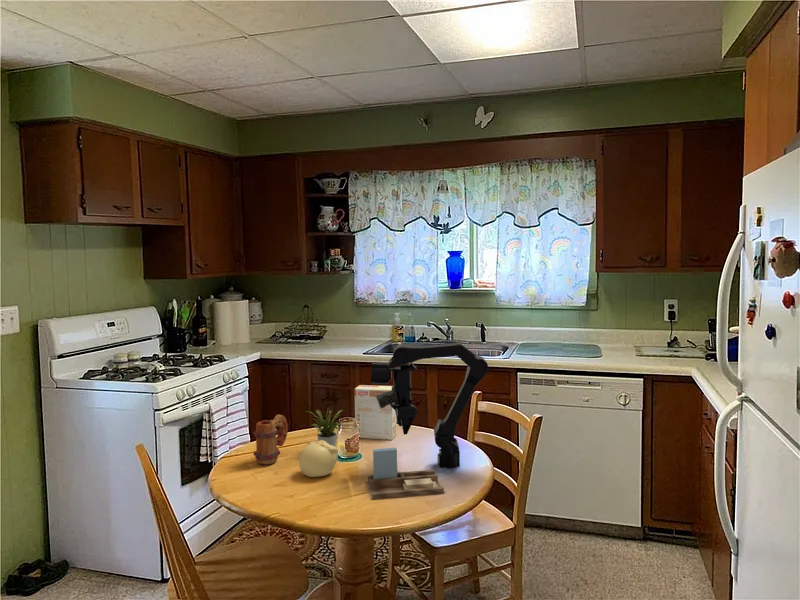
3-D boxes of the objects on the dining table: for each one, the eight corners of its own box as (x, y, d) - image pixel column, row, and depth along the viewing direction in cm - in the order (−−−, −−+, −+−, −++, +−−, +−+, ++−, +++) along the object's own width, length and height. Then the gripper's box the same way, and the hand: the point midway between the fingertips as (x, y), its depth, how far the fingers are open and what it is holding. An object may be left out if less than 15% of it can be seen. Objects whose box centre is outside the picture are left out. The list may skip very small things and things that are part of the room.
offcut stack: (435, 485, 185) (435, 477, 185) (438, 490, 181) (438, 482, 181) (403, 487, 184) (402, 480, 183) (405, 493, 179) (405, 485, 179)
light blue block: (396, 482, 188) (395, 447, 187) (397, 484, 186) (396, 449, 185) (373, 484, 187) (373, 449, 186) (374, 486, 185) (373, 451, 184)
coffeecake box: (397, 434, 239) (396, 385, 237) (392, 440, 232) (392, 390, 230) (360, 432, 242) (359, 384, 241) (355, 438, 235) (354, 388, 234)
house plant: (300, 458, 213) (298, 412, 212) (307, 445, 227) (306, 402, 225) (340, 458, 212) (339, 412, 211) (346, 445, 226) (345, 402, 225)
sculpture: (343, 471, 200) (342, 439, 199) (319, 483, 190) (318, 449, 189) (317, 465, 207) (316, 433, 206) (292, 476, 197) (291, 443, 196)
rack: (434, 478, 193) (434, 468, 193) (445, 496, 179) (445, 484, 179) (365, 484, 189) (365, 473, 189) (371, 502, 176) (371, 490, 175)
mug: (265, 469, 203) (264, 424, 202) (248, 464, 208) (246, 421, 206) (295, 456, 216) (294, 414, 214) (278, 452, 220) (277, 411, 219)
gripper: (374, 378, 208) (374, 423, 209) (382, 391, 189) (382, 440, 191) (406, 377, 210) (406, 421, 211) (417, 389, 191) (417, 438, 193)
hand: (402, 430), depth 201 cm, fingers open, 9 cm apart
